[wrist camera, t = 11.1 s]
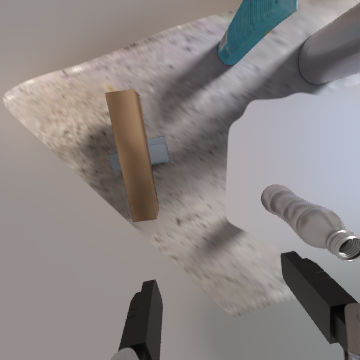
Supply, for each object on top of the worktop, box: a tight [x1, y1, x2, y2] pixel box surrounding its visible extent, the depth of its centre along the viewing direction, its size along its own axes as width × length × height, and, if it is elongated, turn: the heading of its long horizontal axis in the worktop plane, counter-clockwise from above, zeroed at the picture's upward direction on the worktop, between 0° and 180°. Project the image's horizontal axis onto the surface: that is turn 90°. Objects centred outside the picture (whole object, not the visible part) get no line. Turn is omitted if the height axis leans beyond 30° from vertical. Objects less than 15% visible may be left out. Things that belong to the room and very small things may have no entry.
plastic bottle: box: [261, 184, 360, 262], centre depth 33 cm, size 6×7×20 cm
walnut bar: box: [105, 89, 159, 222], centre depth 30 cm, size 4×20×4 cm, turn 7°
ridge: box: [108, 136, 170, 173], centre depth 36 cm, size 10×5×7 cm, turn 103°
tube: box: [218, 0, 298, 65], centre depth 25 cm, size 7×5×19 cm, turn 15°
